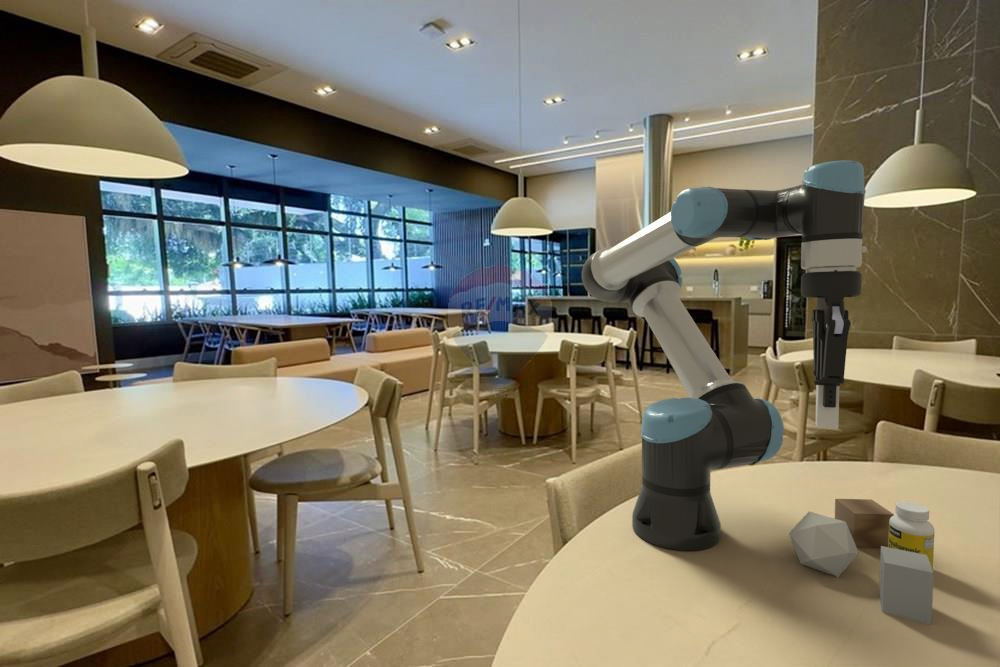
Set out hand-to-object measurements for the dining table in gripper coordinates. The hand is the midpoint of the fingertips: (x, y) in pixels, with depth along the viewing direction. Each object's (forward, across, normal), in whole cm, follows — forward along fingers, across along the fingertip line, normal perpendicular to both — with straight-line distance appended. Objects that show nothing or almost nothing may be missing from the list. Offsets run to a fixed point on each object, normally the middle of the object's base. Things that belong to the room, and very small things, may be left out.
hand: (826, 426), depth 77 cm
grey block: (+22, -8, -8) cm, 25 cm away
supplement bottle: (+23, +4, -12) cm, 26 cm away
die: (+23, 0, 0) cm, 23 cm away
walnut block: (+22, +12, -8) cm, 27 cm away
